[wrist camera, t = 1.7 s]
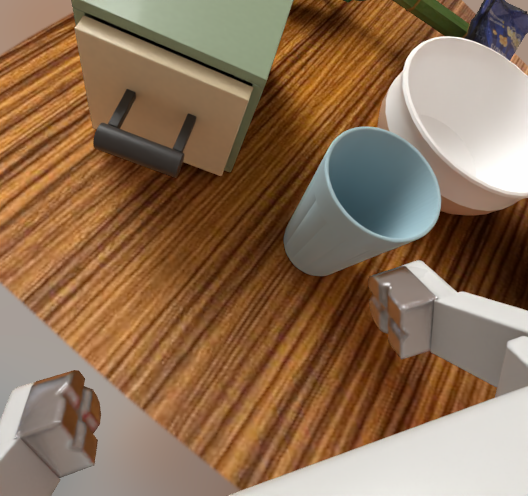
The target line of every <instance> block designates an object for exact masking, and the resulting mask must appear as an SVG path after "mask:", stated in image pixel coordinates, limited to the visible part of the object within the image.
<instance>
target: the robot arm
mask: <svg viewBox="0 0 528 496" xmlns="http://www.w3.org/2000/svg"><path fill="white" fill-rule="evenodd" d="M368 288H369V289H370V291H371V292H372V293H373V294H372V296H371V297H370V299H369V307H370V311H371V315H372V318H373V320H374V322H375V324H376V325H377V327H378V328H379V330H380V331H382V332H384V333H387V334H388V341H389V343H390V345H391V346H392V347H393V349H394V350H395V352H396V353H397V354H398V356H399V357H400V358H401V359H405V358H408V357H411V356H414V355H417V354H421V353H424V352H427V351H430V350H431V352H432V353H433V354H435V355H437V356H439V357H441V358H443V359H445V360H447V361H448V362H450V363H452V364H454V365H456V366H458V367H460V368H461V369H463V370H465V371H467V372H469V373H471V374H473V375H474V376H476V377H478V378H480V379H482V380H484V381H486V382H488V383H489V384H491V385H493V386H495V387H497V391H496V395H495V398H493V399H490V400H488V401H485V402H482V403H479V404H477V405H474V406H471V407H468V408H466V409H463V410H460V411H457V412H455V413H452V414H449V415H446V416H444V417H441V418H438V419H435V420H433V421H430V422H427V423H424V424H422V425H419V426H416V427H414V428H411V429H408V430H405V431H403V432H400V433H397V434H394V435H392V436H389V437H386V438H383V439H381V440H378V441H375V442H373V443H370V444H367V445H364V446H362V447H359V448H356V449H353V450H351V451H348V452H345V453H343V454H340V455H337V456H334V457H332V458H329V459H326V460H323V461H321V462H318V463H315V464H312V465H310V466H307V467H304V468H302V469H299V470H296V471H293V472H291V473H288V474H285V475H282V476H280V477H277V478H274V479H271V480H269V481H266V482H263V483H260V484H258V485H255V486H252V487H249V488H247V489H244V490H241V491H239V492H236V493H233V494H230V495H228V496H528V311H527V310H524V309H520V308H517V307H514V306H510V305H507V304H504V303H500V302H497V301H494V300H490V299H487V298H484V297H480V296H477V295H473V294H470V293H467V292H463V291H462V292H459V293H457V292H456V291H455V290H454V289H453V288H452V287H451V286H450V285H448V284H447V283H446V282H445V281H444V280H443V279H442V278H441V277H439V276H438V275H437V274H436V273H435V272H434V271H433V270H432V269H430V268H429V267H428V266H427V265H426V264H425V263H424V262H423V261H420V260H417V261H414V262H411V263H408V264H405V265H402V266H400V267H397V268H394V269H391V270H388V271H385V272H382V273H379V274H376V275H373V276H369V279H368ZM84 381H85V378H84V377H83V375H82V374H81V373H80V372H79V371H76V370H74V371H70V372H67V373H63V374H60V375H56V376H53V377H50V378H47V379H43V380H40V381H36V382H34V383H31V384H28V385H24V386H20V387H17V388H16V389H14V390H13V391H12V392H11V394H10V397H9V399H8V402H7V405H6V407H5V409H4V412H3V415H2V417H1V420H0V496H51V495H52V493H53V492H54V490H55V488H56V487H57V485H58V483H59V482H60V479H59V478H61V477H64V476H67V475H69V474H72V473H75V472H77V471H80V470H83V469H85V468H88V467H91V466H93V465H94V463H95V456H96V449H97V441H98V440H97V439H96V437H95V436H94V435H93V433H94V432H95V430H96V429H97V428H98V426H99V425H100V418H101V411H100V403H99V401H98V398H97V396H96V394H95V392H94V391H93V389H90V388H87V387H85V386H84Z"/></svg>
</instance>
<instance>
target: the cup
mask: <svg viewBox="0 0 528 496" xmlns="http://www.w3.org/2000/svg"><path fill="white" fill-rule="evenodd" d="M440 209H441V193H440V188H439V184H438V181H437V178H436V176H435V174H434V172H433V170H432V168H431V166H430V165H429V163H428V162H427V160H426V159H425V158H424V157H423V155H422V154H421V153H420V152H419V151H418V150H417V149H416V148H415V147H414V146H412V145H411V144H410V143H409V142H407V141H406V140H405V139H403V138H401V137H400V136H398V135H396V134H394V133H392V132H390V131H387V130H384V129H380V128H375V127H357V128H353V129H350V130H347V131H345V132H343V133H342V134H340V135H339V136H338V137H337V138H336V139H335V140H334V141H333V142H332V143H331V145H330V147H329V148H328V150H327V152H326V154H325V156H324V158H323V160H322V161H321V163H320V165H319V167H318V169H317V171H316V173H315V175H314V177H313V178H312V180H311V182H310V184H309V186H308V188H307V190H306V191H305V193H304V195H303V197H302V199H301V201H300V203H299V204H298V206H297V208H296V210H295V212H294V214H293V216H292V218H291V219H290V221H289V223H288V225H287V227H286V230H285V234H284V247H285V251H286V254H287V256H288V257H289V259H290V260H291V262H292V263H293V264H294V265H295V266H296V267H297V268H298V269H300V270H301V271H303V272H304V273H306V274H309V275H313V276H327V275H330V274H332V273H335V272H337V271H340V270H342V269H345V268H347V267H349V266H352V265H354V264H357V263H359V262H362V261H364V260H367V259H369V258H372V257H374V256H377V255H379V254H381V253H384V252H386V251H389V250H392V249H395V248H398V247H400V246H403V245H405V244H408V243H410V242H413V241H415V240H418V239H420V238H421V237H423V236H425V235H426V234H427V233H428V232H429V231H430V230H431V229H432V228H433V227H434V225H435V224H436V222H437V220H438V217H439V214H440Z"/></svg>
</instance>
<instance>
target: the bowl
mask: <svg viewBox="0 0 528 496" xmlns="http://www.w3.org/2000/svg"><path fill="white" fill-rule="evenodd" d="M378 128H380V129H384V130H387V131H390V132H392V133H394V134H396V135H398V136H400V137H401V138H403V139H405V140H406V141H407V142H409V143H410V144H411V145H412V146H414V147H415V148H416V149H417V150H418V151H419V152H420V153H421V154H422V155H423V157H424V158H425V159H426V160H427V162H428V163H429V165H430V166H431V168H432V170H433V172H434V174H435V176H436V178H437V181H438V184H439V188H440V193H441V209H440V211H442V212H445V213H449V214H456V215H483V214H488V213H491V212H494V211H497V210H502V209H504V208H506V207H509V206H511V205H513V204H515V203H517V202H518V201H520V200H521V199H523V198H528V76H527V75H526V74H525V73H524V72H523V71H521V70H520V69H519V68H518V67H517V66H516V65H515V64H513V63H512V62H511V61H509V60H508V59H507V58H505V57H504V56H502V55H501V54H499V53H497V52H496V51H494V50H492V49H490V48H489V47H486V46H484V45H482V44H479V43H477V42H475V41H471V40H468V39H464V38H460V37H450V36H444V37H435V38H432V39H430V40H427V41H424V42H422V43H421V44H419V45H418V46H417V47H416V48H414V49H413V50H412V51H411V53H410V54H409V56H408V58H407V59H406V62H405V65H404V69H403V71H402V72H401V73H400V74H399V75H398V76H397V78H396V79H395V80H394V82H393V83H392V85H391V86H390V88H389V90H388V92H387V94H386V96H385V97H384V99H383V101H382V105H381V108H380V111H379V119H378Z"/></svg>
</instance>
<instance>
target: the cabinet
mask: <svg viewBox="0 0 528 496" xmlns="http://www.w3.org/2000/svg"><path fill="white" fill-rule="evenodd" d="M71 1H72V7H73V12H74V18H75V23H76V26H77V24H78V23H79V21H80V20H81V18H82V17H83V16H87V17H89V18H92V19H94V20H96V21H99V22H101V23H103V24H105V21H107V22H109V23H111V24H114V25H116V26H118V27H121V28H123V29H125V30H128V31H130V32H132V33H135V34H137V35H140V36H142V37H144V38H147V39H149V40H151V41H154V42H156V43H158V44H161V45H163V46H165V47H168V48H170V49H172V50H175V51H177V52H180V53H182V54H184V55H187V56H189V57H191V58H194V59H196V60H198V61H201V62H203V63H205V64H208V65H210V66H212V67H215V68H217V69H219V70H222V71H224V72H227V73H229V74H231V75H234V76H236V77H238V78H241V79H243V80H245V81H248V82H247V85H250V86H252V87H253V90H252V93H251V96H250V99H249V102H248V104H247V107H246V110H245V113H244V116H243V118H242V121H241V124H240V127H239V130H238V132H237V135H236V138H235V141H234V144H233V146H232V149H231V152H230V155H229V158H228V160H227V163H226V166H225V169H224V171H227V172H230V173H231V171H232V168H233V166H234V163H235V161H236V158H237V156H238V153H239V151H240V148H241V145H242V143H243V140H244V138H245V135H246V133H247V130H248V128H249V125H250V122H251V120H252V117H253V115H254V112H255V110H256V107H257V104H258V102H259V99H260V97H261V94H262V92H263V89H264V87H265V84H266V81H267V79H268V76H269V73H270V70H271V67H272V64H273V61H274V57H275V54H276V51H277V48H278V45H279V42H280V39H281V36H282V33H283V30H284V27H285V24H286V21H287V18H288V15H289V12H290V9H291V6H292V3H293V0H71Z"/></svg>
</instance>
